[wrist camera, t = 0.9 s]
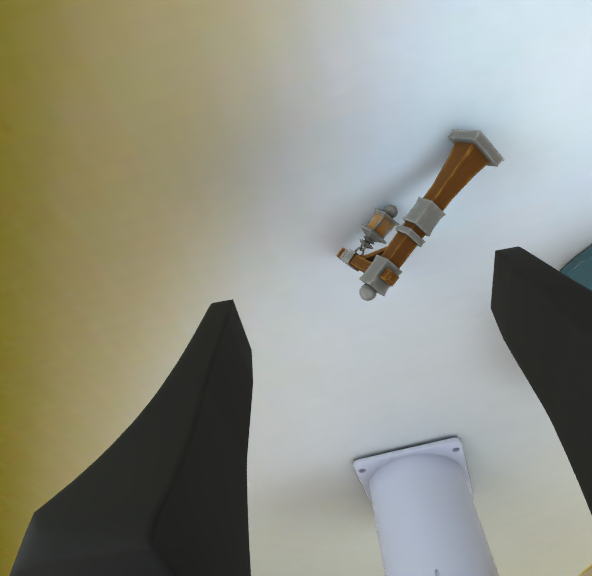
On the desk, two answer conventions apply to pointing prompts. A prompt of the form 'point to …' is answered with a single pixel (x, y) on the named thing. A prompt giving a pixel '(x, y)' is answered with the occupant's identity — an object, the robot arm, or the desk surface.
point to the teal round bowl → (580, 268)
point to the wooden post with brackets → (417, 215)
